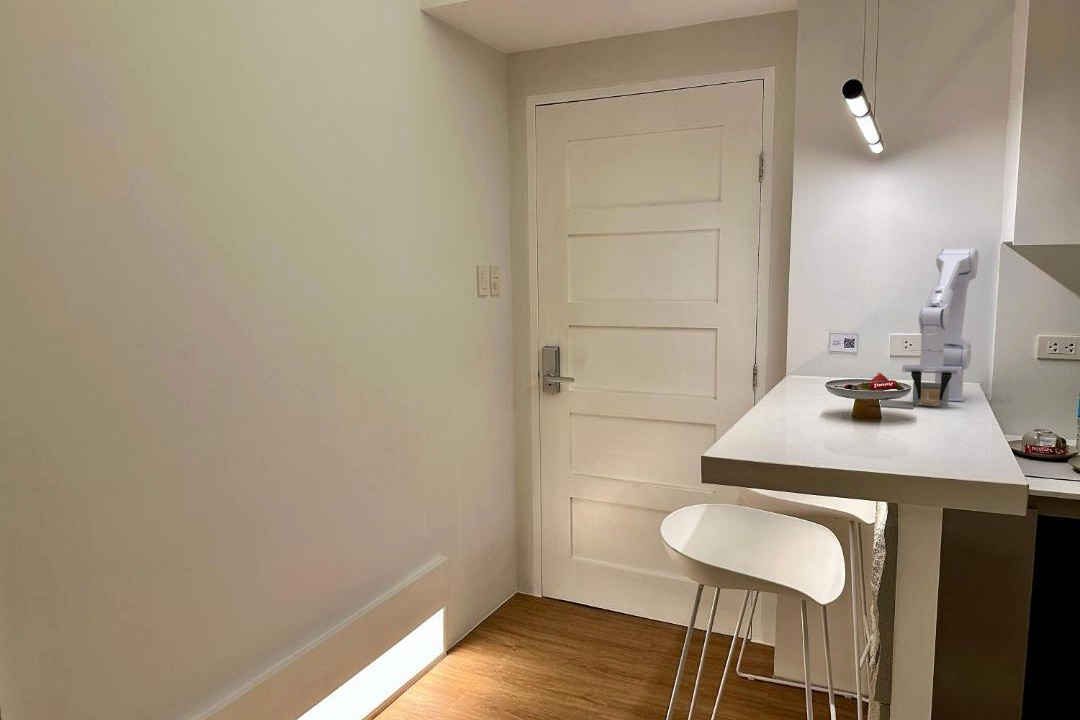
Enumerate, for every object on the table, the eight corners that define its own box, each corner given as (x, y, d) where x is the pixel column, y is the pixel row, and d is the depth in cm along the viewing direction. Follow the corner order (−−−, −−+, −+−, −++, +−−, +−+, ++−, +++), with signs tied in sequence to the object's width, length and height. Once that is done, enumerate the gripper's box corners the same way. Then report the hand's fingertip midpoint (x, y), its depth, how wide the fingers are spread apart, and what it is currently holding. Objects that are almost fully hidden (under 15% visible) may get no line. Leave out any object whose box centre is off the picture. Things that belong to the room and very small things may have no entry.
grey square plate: (872, 400, 222) (872, 399, 221) (914, 403, 216) (914, 401, 216) (869, 406, 212) (869, 404, 212) (912, 409, 207) (912, 407, 207)
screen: (912, 401, 219) (913, 381, 218) (948, 403, 215) (949, 382, 214) (912, 403, 216) (913, 382, 215) (948, 405, 212) (949, 384, 211)
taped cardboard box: (920, 402, 213) (921, 386, 213) (939, 403, 211) (940, 387, 210) (920, 405, 209) (921, 388, 208) (939, 406, 207) (940, 389, 206)
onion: (885, 397, 227) (887, 371, 226) (893, 400, 221) (894, 373, 220) (865, 397, 227) (866, 370, 227) (872, 400, 222) (873, 373, 221)
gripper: (902, 350, 208) (900, 399, 210) (962, 352, 201) (960, 402, 203) (903, 348, 214) (901, 395, 216) (962, 350, 208) (959, 399, 209)
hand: (930, 399), depth 210 cm, fingers closed on taped cardboard box, 5 cm apart
